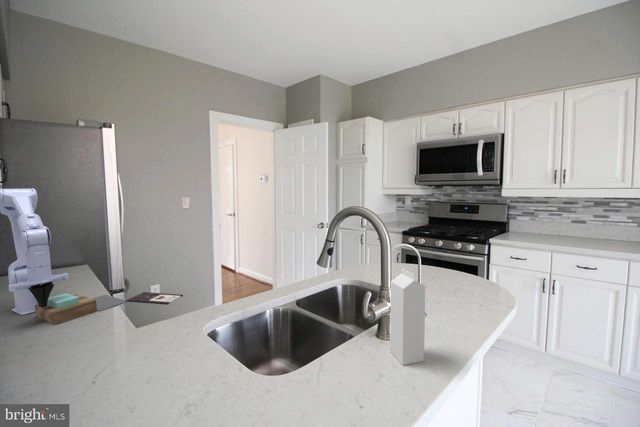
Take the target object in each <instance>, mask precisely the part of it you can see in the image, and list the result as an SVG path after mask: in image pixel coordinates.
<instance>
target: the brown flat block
mask: <svg viewBox="0 0 640 427" xmlns="http://www.w3.org/2000/svg"><path fill="white" fill-rule="evenodd" d="M72 295H73V296H76V297H79V303H77V304H74V305H71V306H67V307H64V308H60V309H56V308H53V307H51V306H48V305H47V306H46V307H42V308H41V307H39V305H38V304H37V305H35V312H34V313H35V317H36V318H38V319H40V320H43V321H45V322H47V323H50V324H52V325H53V326H57V325H59V324H60V325H61V324H63V323H66V322H69V321H71V320H75V319H78V318H81V317H84V316H86V315H87V316H88V315H90V314H93V313H96V312H98V311H97V304H96V300H94V299H92V298H90V297H87V296H84V295H82V294H79V293H75V294H72Z"/></svg>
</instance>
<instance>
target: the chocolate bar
mask: <svg viewBox="0 0 640 427" xmlns="http://www.w3.org/2000/svg"><path fill="white" fill-rule="evenodd" d="M183 296H184V295H183V294H177V293H175V294H174V293H161V292H150V291H149V292H145V291H143V292H141V293H139V294H136V295H135V296H132V297H130V298H128V299H126V300H125V301H128V302H127V303H139V304H141V303H142V304H153V305H167V306H168V305H170V304H171V303H173V302H175V301H177V300H178V299H180V298H182V297H183Z"/></svg>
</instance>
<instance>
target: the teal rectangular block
mask: <svg viewBox="0 0 640 427" xmlns="http://www.w3.org/2000/svg"><path fill="white" fill-rule="evenodd" d="M73 295H74V294H70V293H67V292H66V293H62V294H58V295H54V296H49V298H48V302H47V305H48V306H51V307H53V308H56V309H60V308H64V307H67V306H71V305H74V304H77V303H79V297H76V296H73Z"/></svg>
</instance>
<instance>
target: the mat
mask: <svg viewBox="0 0 640 427" xmlns="http://www.w3.org/2000/svg"><path fill="white" fill-rule="evenodd" d="M91 299H94V300H96V304H97V311H96V312H102V311H105V310H106V311H107V310H108V309H111V308H115V307H118V306H120V305H123V304H126V303H129V302H128V301H126V300H124V299H121V298H118V297H114V296H112V295H107V294H101V295H99V296H96V297H93V298H91Z"/></svg>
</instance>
